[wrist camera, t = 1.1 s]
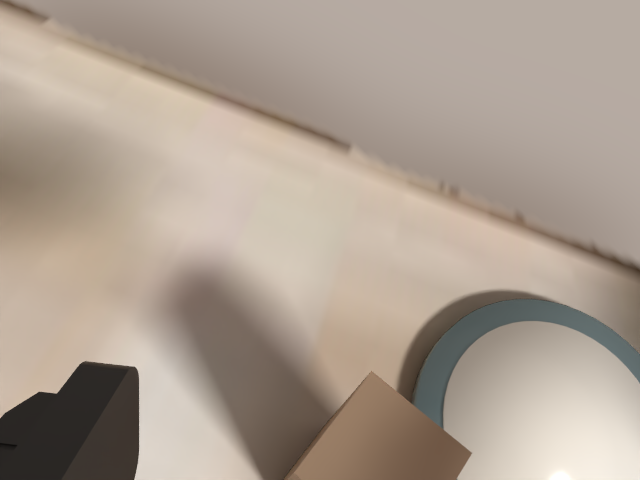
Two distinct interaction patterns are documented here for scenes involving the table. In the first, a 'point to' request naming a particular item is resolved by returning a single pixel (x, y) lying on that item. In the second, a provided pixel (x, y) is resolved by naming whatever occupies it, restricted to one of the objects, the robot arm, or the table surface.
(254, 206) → the table surface
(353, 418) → the walnut block
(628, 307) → the table surface
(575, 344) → the teal dish
